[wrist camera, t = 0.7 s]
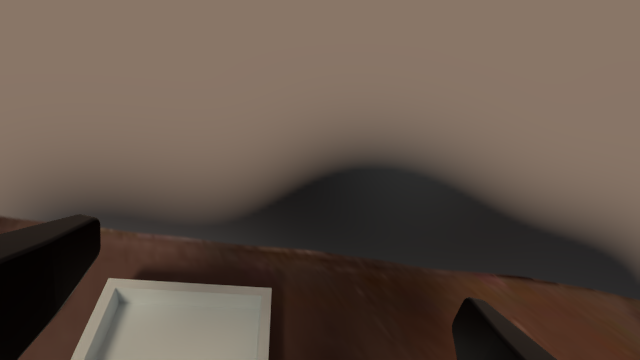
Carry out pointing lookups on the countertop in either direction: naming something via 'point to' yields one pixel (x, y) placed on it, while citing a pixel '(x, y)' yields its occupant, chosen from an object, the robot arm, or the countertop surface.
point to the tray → (177, 322)
